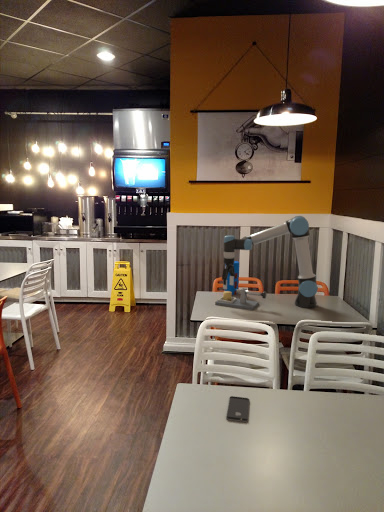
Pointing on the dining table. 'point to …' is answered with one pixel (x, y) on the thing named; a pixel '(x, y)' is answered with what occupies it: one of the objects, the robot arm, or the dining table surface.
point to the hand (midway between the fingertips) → (228, 287)
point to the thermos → (234, 287)
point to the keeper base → (238, 302)
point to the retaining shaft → (254, 293)
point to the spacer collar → (227, 295)
